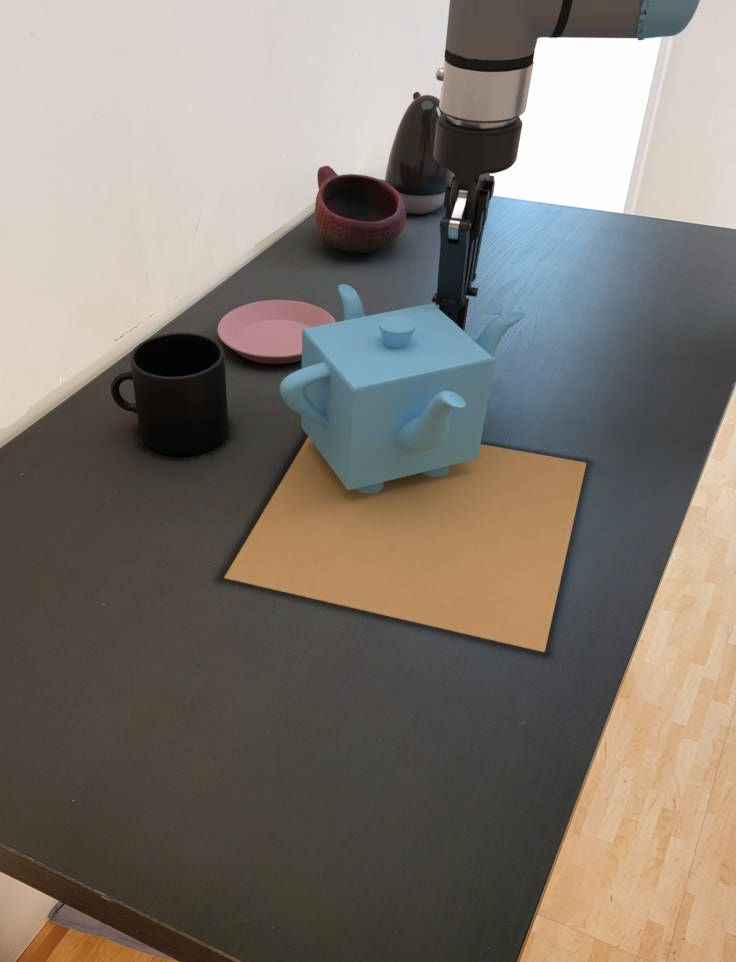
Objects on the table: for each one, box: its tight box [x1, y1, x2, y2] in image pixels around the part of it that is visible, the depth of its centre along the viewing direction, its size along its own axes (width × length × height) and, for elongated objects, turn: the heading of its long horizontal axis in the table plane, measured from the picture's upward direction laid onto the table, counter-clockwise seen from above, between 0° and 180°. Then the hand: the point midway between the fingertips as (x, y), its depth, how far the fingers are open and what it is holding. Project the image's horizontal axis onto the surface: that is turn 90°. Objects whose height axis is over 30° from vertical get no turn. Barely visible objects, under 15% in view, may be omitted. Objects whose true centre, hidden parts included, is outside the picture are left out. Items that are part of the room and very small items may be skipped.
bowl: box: [314, 165, 407, 254], centre depth 130 cm, size 16×13×8 cm
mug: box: [110, 331, 229, 457], centre depth 97 cm, size 9×12×9 cm
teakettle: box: [279, 283, 526, 494], centre depth 90 cm, size 19×19×15 cm
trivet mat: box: [223, 436, 587, 654], centre depth 88 cm, size 28×28×1 cm
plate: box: [217, 299, 337, 365], centre depth 112 cm, size 14×14×2 cm
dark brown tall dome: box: [384, 91, 454, 215], centre depth 136 cm, size 10×10×15 cm
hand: (446, 357), depth 100 cm, fingers closed
